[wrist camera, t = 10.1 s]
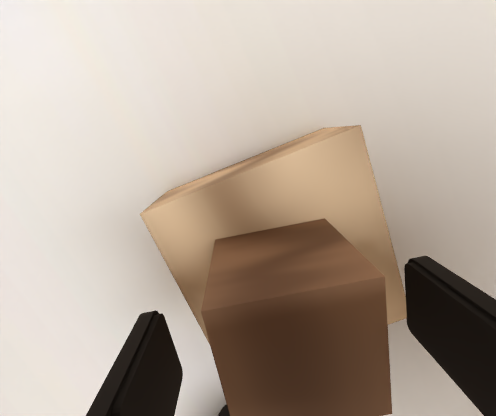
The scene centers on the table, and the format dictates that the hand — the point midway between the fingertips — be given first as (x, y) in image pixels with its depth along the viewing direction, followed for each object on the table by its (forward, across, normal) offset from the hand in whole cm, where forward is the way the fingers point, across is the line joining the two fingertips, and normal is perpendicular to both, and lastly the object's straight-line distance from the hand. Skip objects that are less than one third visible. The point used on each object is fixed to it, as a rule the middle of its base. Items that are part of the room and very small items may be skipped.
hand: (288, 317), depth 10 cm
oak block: (+8, 0, 0) cm, 8 cm away
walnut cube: (+3, 0, 0) cm, 3 cm away
